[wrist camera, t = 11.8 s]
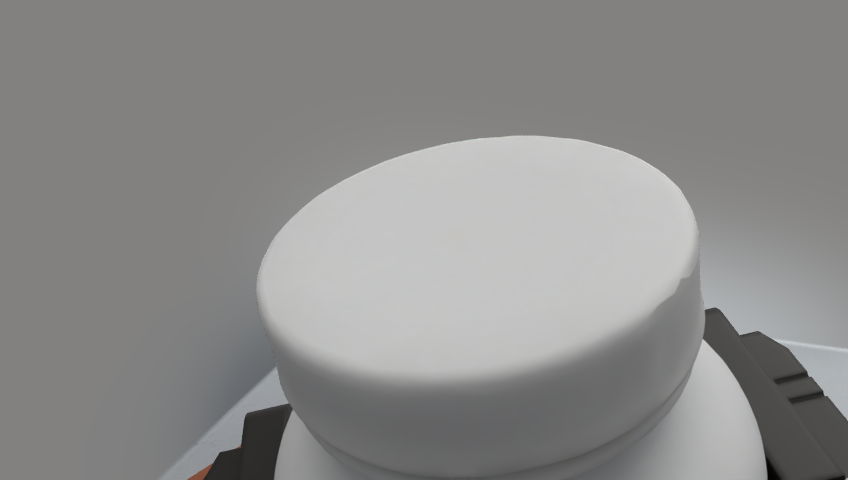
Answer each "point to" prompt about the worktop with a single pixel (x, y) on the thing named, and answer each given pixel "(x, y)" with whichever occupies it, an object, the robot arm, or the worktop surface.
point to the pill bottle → (500, 323)
